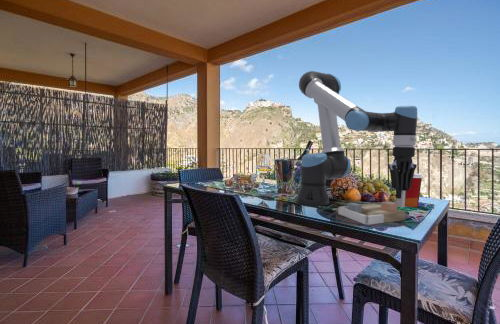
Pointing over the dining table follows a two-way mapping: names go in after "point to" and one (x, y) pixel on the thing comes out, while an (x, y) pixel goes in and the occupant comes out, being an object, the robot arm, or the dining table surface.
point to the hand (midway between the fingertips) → (400, 206)
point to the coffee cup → (414, 191)
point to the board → (382, 212)
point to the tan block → (389, 206)
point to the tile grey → (354, 207)
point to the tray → (360, 216)
